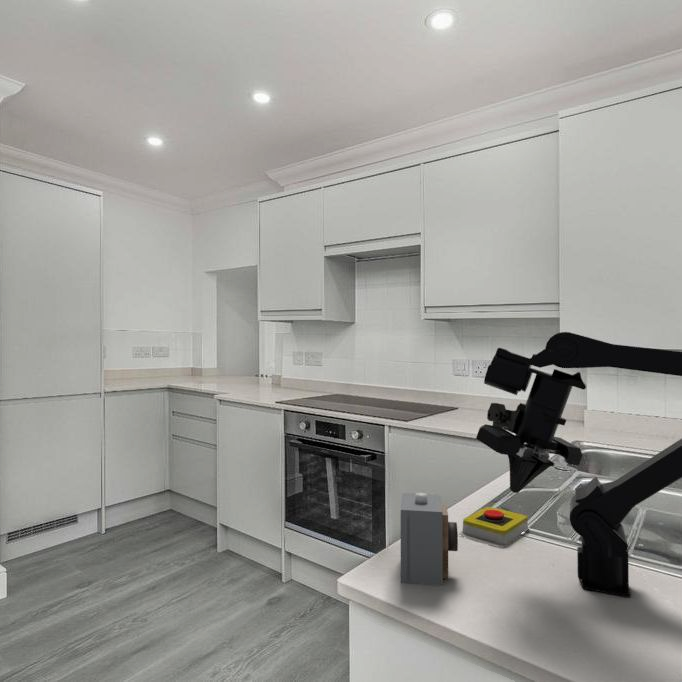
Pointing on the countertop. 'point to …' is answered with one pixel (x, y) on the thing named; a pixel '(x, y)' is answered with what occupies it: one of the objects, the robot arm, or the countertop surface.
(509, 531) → the emergency button
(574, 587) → the countertop surface
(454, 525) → the plunger
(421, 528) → the housing
